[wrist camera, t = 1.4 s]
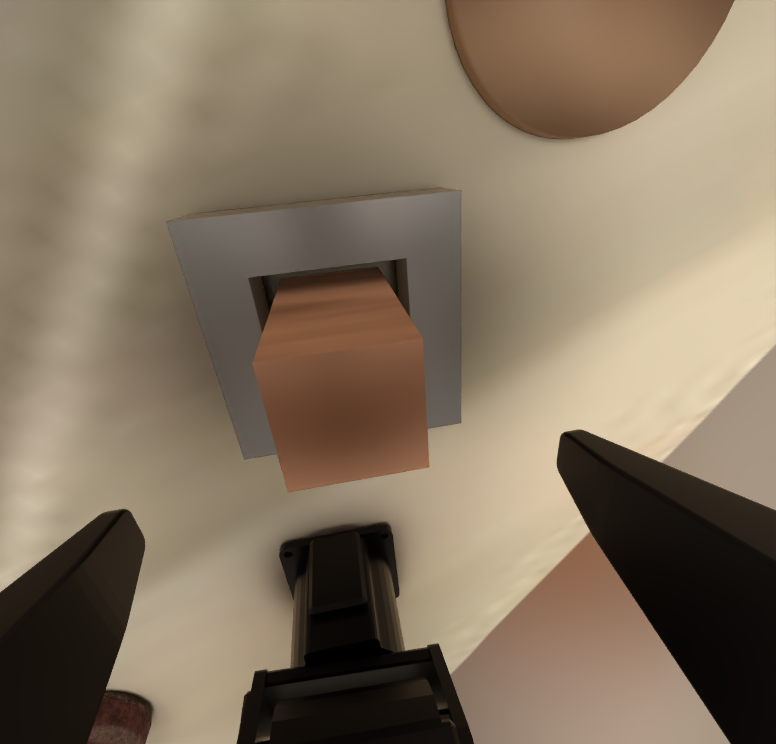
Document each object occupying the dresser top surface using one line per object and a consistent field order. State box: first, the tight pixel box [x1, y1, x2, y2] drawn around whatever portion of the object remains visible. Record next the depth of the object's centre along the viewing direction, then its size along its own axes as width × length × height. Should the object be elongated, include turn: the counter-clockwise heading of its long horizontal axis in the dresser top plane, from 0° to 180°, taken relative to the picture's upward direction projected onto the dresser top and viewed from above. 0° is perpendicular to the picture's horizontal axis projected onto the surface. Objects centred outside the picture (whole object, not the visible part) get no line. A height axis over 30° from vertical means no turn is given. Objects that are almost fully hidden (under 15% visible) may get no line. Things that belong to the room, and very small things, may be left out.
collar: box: [166, 188, 461, 459], centre depth 16 cm, size 10×10×2 cm
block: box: [252, 267, 429, 492], centre depth 14 cm, size 4×4×8 cm
